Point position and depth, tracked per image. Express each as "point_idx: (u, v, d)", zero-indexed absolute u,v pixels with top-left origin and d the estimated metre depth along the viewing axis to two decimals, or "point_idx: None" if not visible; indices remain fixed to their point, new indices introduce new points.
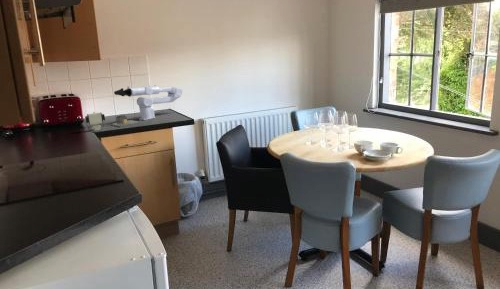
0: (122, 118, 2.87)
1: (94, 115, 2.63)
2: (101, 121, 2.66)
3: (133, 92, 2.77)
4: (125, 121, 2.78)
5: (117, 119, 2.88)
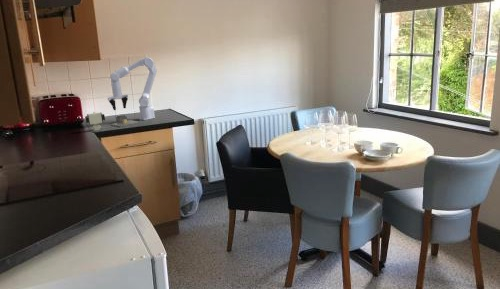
0: (122, 118, 2.87)
1: (94, 115, 2.63)
2: (101, 121, 2.66)
3: (108, 99, 2.81)
4: (125, 121, 2.78)
5: (117, 119, 2.88)
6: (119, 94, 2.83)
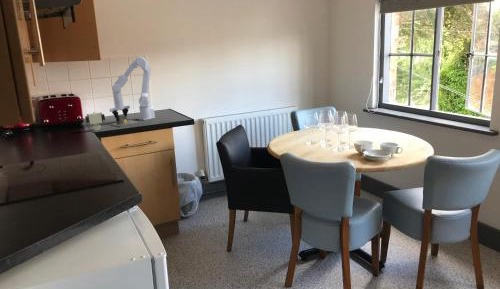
0: (122, 118, 2.87)
1: (94, 115, 2.63)
2: (101, 121, 2.66)
3: (110, 110, 2.83)
4: (125, 121, 2.78)
5: None
6: (121, 105, 2.85)
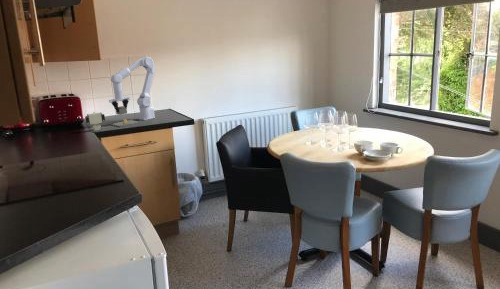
0: (122, 110, 2.81)
1: (94, 115, 2.63)
2: (101, 121, 2.66)
3: (109, 101, 2.76)
4: (125, 121, 2.78)
5: None
6: (121, 96, 2.78)
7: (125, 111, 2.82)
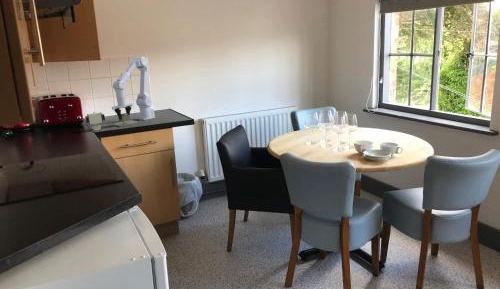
0: (125, 117, 2.76)
1: (94, 115, 2.63)
2: (101, 121, 2.66)
3: (112, 108, 2.71)
4: (125, 121, 2.78)
5: None
6: (124, 103, 2.74)
7: (128, 118, 2.78)
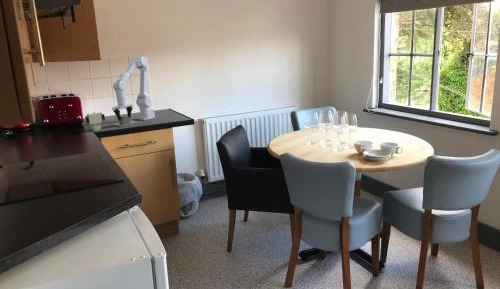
0: (125, 119, 2.76)
1: (94, 115, 2.63)
2: (101, 121, 2.66)
3: (112, 109, 2.71)
4: None
5: (120, 120, 2.77)
6: (124, 104, 2.74)
7: (128, 120, 2.78)
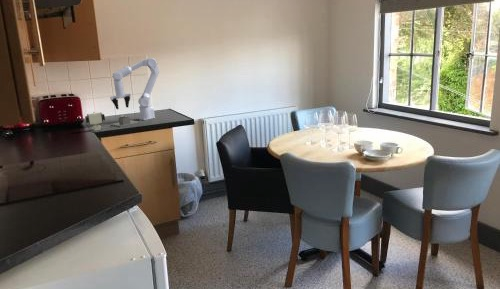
0: (125, 119, 2.76)
1: (94, 115, 2.63)
2: (101, 121, 2.66)
3: (111, 98, 2.80)
4: None
5: (120, 120, 2.77)
6: (122, 93, 2.83)
7: (128, 120, 2.78)
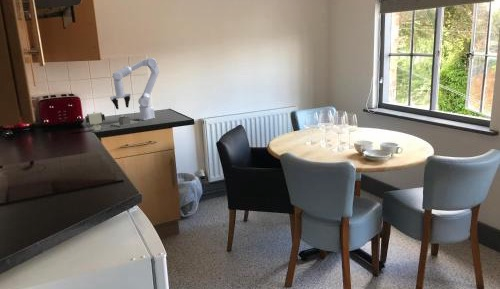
0: (125, 119, 2.76)
1: (94, 115, 2.63)
2: (101, 121, 2.66)
3: (111, 98, 2.80)
4: None
5: (120, 120, 2.77)
6: (122, 93, 2.83)
7: (128, 120, 2.78)
